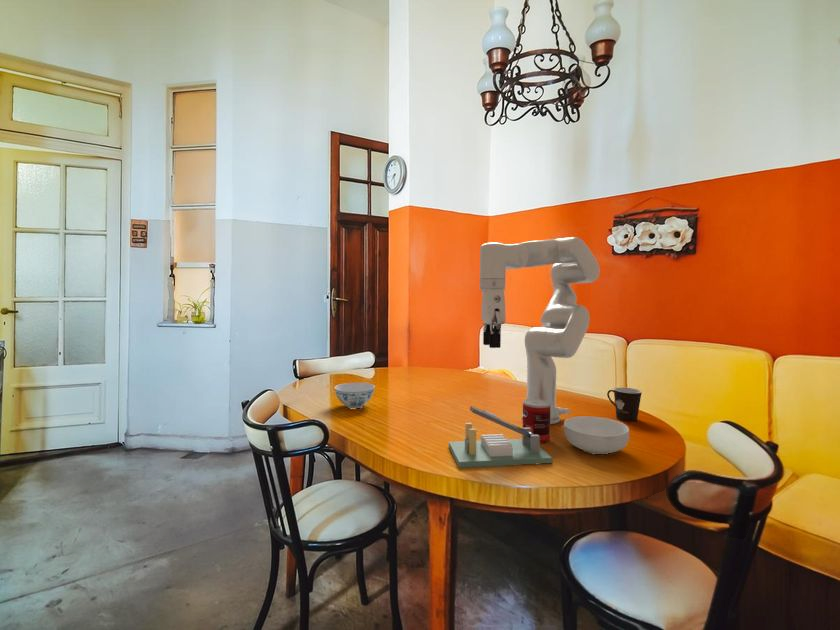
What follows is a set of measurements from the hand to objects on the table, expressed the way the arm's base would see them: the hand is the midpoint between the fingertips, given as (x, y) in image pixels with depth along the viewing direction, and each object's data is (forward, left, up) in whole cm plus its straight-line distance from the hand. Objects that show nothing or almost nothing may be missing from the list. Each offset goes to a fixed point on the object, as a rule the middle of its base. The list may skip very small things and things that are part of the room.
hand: (491, 345), depth 123 cm
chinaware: (+42, -37, -28) cm, 62 cm away
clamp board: (+2, +14, -28) cm, 31 cm away
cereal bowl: (-26, +13, -28) cm, 40 cm away
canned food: (-13, +3, -28) cm, 31 cm away
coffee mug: (-52, -14, -28) cm, 61 cm away
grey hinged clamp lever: (+1, +14, -20) cm, 24 cm away
